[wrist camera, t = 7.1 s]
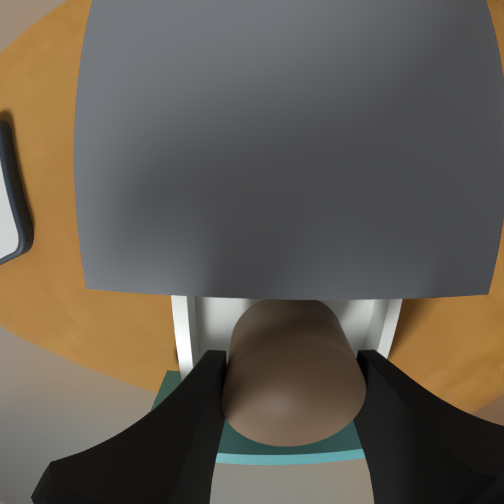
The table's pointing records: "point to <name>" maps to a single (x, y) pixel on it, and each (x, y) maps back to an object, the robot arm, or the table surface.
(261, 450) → the tray
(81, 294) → the table surface
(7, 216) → the smartphone
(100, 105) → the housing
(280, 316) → the brown cork
